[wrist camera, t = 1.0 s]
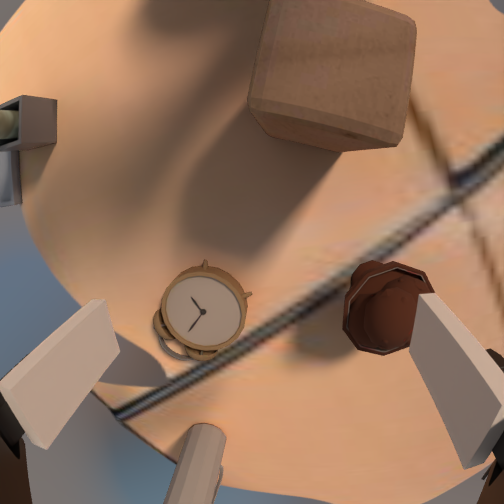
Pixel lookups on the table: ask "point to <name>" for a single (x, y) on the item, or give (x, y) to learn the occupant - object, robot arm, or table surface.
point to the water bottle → (198, 467)
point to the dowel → (9, 124)
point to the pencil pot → (32, 123)
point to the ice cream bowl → (383, 306)
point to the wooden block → (333, 74)
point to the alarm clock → (201, 312)
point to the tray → (10, 179)
